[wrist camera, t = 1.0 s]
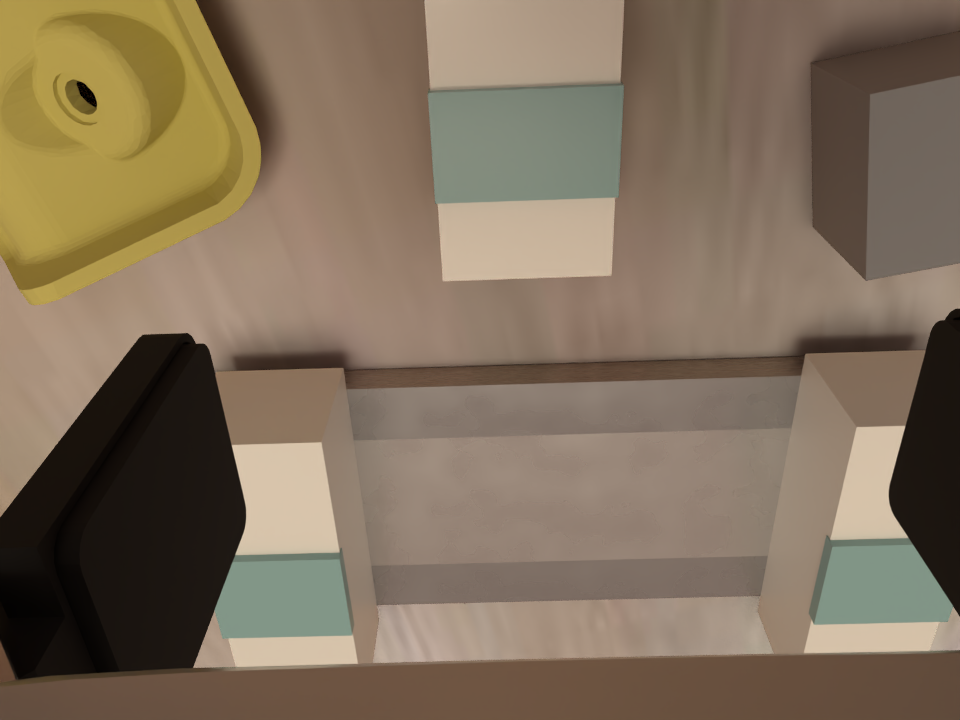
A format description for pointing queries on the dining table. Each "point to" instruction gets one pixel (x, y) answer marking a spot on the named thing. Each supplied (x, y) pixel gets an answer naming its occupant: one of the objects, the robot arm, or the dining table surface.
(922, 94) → the block
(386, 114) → the dining table surface
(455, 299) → the dining table surface
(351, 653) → the block
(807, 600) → the mounted module
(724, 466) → the rail
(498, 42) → the block
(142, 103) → the plastic component
